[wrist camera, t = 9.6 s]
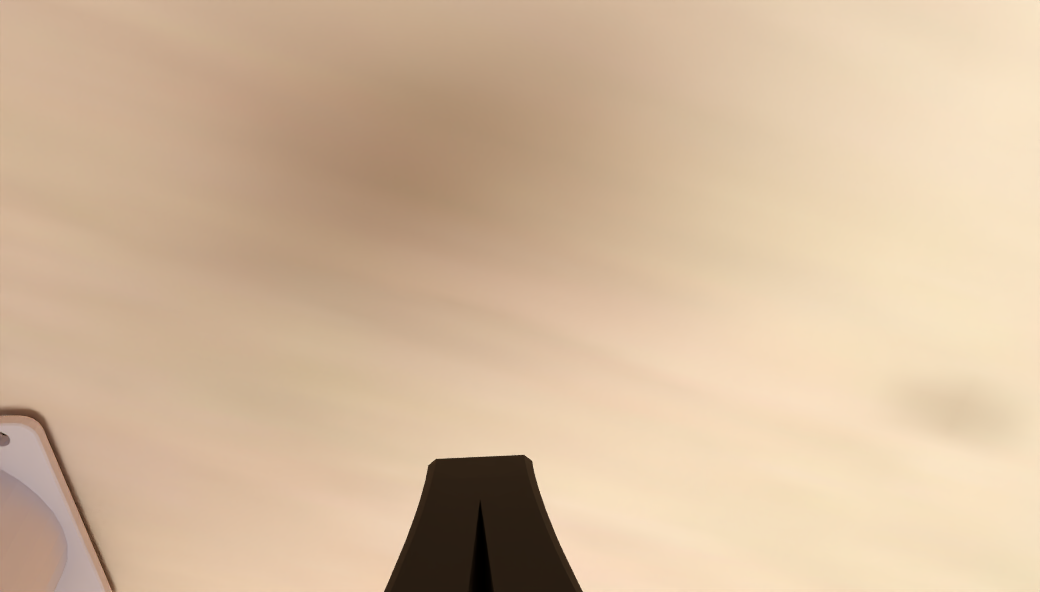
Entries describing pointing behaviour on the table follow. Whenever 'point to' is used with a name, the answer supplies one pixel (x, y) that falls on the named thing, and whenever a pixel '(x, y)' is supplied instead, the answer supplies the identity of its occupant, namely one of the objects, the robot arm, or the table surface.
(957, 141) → the table surface
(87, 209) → the table surface
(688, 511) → the table surface
